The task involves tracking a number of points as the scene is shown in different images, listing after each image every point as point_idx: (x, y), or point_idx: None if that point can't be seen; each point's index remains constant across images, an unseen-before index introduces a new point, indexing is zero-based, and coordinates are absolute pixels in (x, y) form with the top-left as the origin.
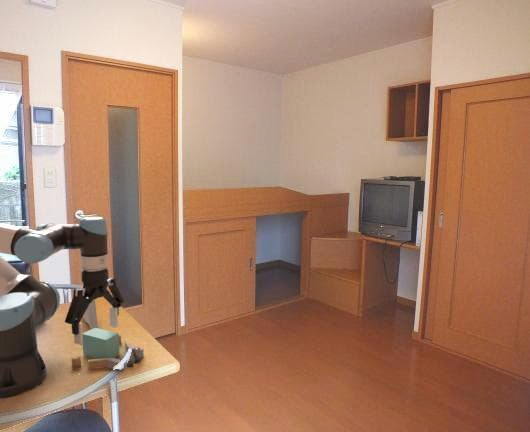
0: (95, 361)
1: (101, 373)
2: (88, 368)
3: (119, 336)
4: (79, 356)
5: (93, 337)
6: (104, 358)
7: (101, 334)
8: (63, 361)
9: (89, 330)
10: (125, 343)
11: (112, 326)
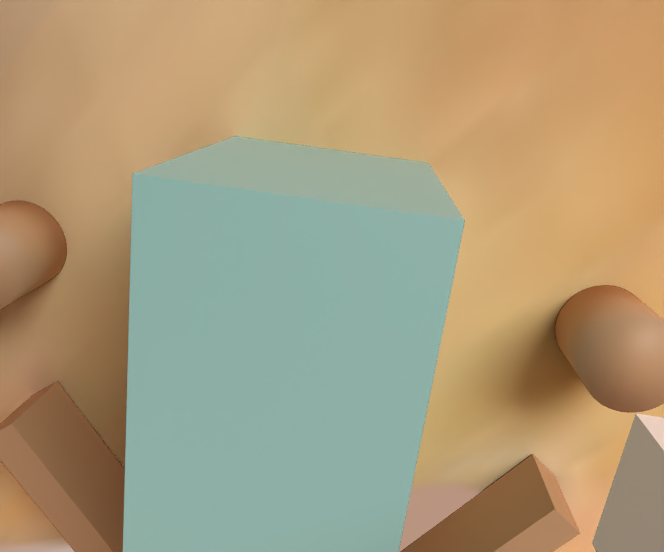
0: (36, 489)
1: (35, 532)
2: (29, 399)
3: (630, 403)
4: (17, 278)
5: (129, 443)
6: (103, 549)
7: (241, 518)
8: (26, 22)
9: (310, 206)
10: (505, 521)
11: (619, 471)
